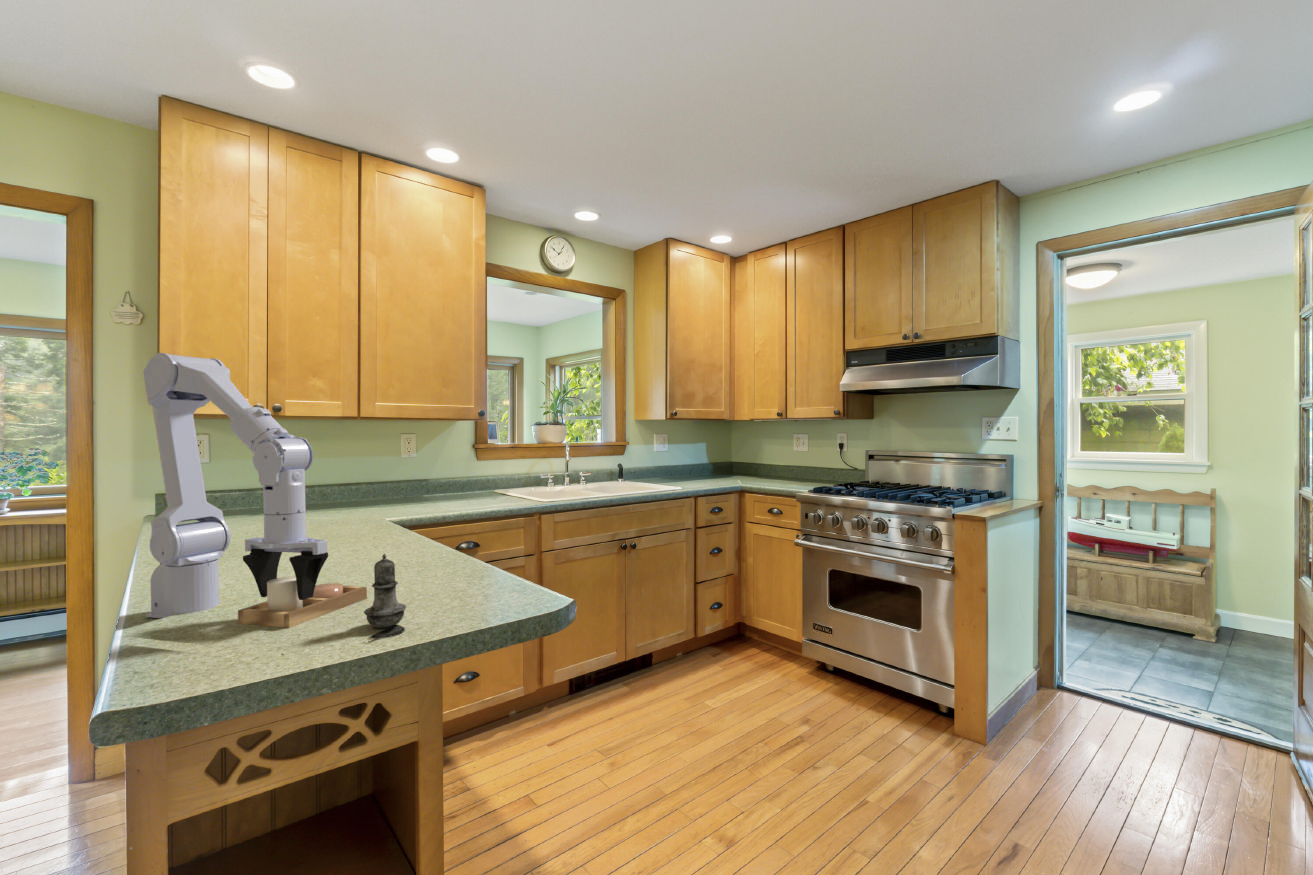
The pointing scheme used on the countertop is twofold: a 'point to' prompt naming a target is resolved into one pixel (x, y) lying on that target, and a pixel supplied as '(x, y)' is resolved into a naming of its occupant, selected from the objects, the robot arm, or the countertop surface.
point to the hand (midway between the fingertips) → (286, 596)
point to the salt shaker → (385, 601)
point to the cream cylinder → (283, 594)
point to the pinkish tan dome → (327, 590)
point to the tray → (301, 609)
